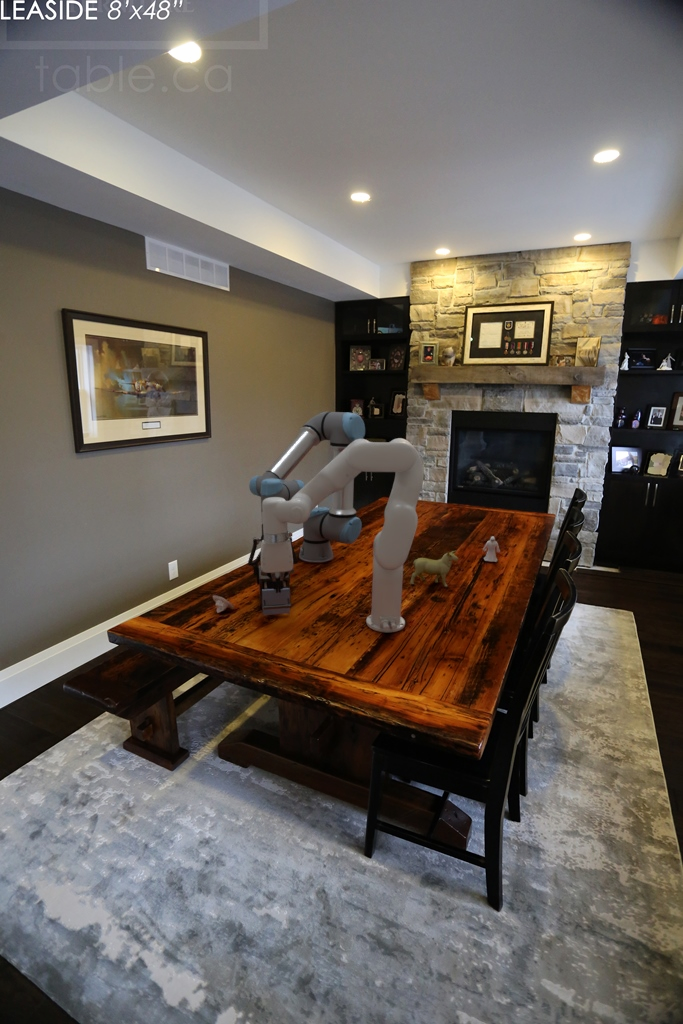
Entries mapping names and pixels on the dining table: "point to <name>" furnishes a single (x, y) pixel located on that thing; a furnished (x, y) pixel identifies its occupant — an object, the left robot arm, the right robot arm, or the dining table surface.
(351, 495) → the left robot arm
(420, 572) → the toy
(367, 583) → the dining table surface
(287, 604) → the drawer
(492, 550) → the figurine
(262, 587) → the cabinet
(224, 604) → the seashell
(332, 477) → the right robot arm
